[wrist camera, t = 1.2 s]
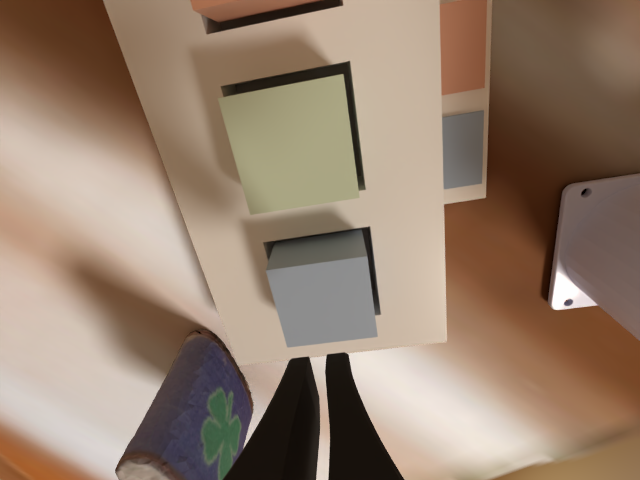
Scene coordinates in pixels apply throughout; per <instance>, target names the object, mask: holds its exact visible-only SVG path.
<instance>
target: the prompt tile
mask: <svg viewBox="0 0 640 480" xmlns="http://www.w3.org/2000/svg"><path fill="white" fill-rule="evenodd" d="M439 2H440V49H441V95H442V141H443V187H444V204H449V203H455V202H462V201H468V200H475V199H481V198H486V179H487V149H488V118H489V88H490V58H491V27H492V0H439Z"/></svg>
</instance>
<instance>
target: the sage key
mask: <svg viewBox="0 0 640 480" xmlns="http://www.w3.org/2000/svg"><path fill="white" fill-rule="evenodd" d="M218 101H219V105H220V108H221V112H222V116H223V119H224V123H225V126H226V130H227V133H228V137H229V141H230V144H231V148H232V151H233V155H234V159H235V162H236V166H237V169H238V173H239V176H240V180H241V184H242V187H243V191H244V194H245V198H246V202H247V205H248V209H249V212H250V215H254V214H260V213H267V212H273V211H280V210H286V209H292V208H299V207H305V206H311V205H318V204H324V203H330V202H337V201H343V200H349V199H356V198H360V197H359V189H358V181H357V174H356V166H355V158H354V151H353V143H352V136H351V128H350V120H349V113H348V105H347V97H346V90H345V82H344V74H339V75H334V76H329V77H324V78H319V79H313V80H308V81H303V82H298V83H293V84H288V85H282V86H277V87H272V88H267V89H262V90H256V91H251V92H246V93H241V94H236V95H231V96H226V97H221V98H218Z"/></svg>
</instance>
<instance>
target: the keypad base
mask: <svg viewBox="0 0 640 480" xmlns="http://www.w3.org/2000/svg"><path fill="white" fill-rule="evenodd" d="M103 2H104V5H105V7H106V10H107V13H108V15H109V18H110V21H111V24H112V26H113V29H114V32H115V34H116V37H117V40H118V43H119V45H120V48H121V51H122V53H123V56H124V59H125V61H126V64H127V67H128V70H129V72H130V75H131V78H132V80H133V83H134V86H135V89H136V91H137V94H138V97H139V99H140V102H141V105H142V107H143V110H144V113H145V116H146V118H147V121H148V124H149V126H150V129H151V132H152V135H153V137H154V140H155V143H156V145H157V148H158V151H159V153H160V156H161V159H162V162H163V164H164V167H165V170H166V172H167V175H168V178H169V181H170V183H171V186H172V189H173V191H174V194H175V197H176V199H177V202H178V205H179V208H180V210H181V213H182V216H183V218H184V221H185V224H186V227H187V229H188V232H189V235H190V237H191V240H192V243H193V246H194V248H195V251H196V254H197V256H198V259H199V262H200V264H201V267H202V270H203V273H204V275H205V278H206V281H207V283H208V286H209V289H210V292H211V294H212V297H213V300H214V302H215V305H216V308H217V310H218V313H219V316H220V319H221V321H222V324H223V327H224V329H225V332H226V335H227V338H228V340H229V343H230V346H231V348H232V351H233V354H234V356H235V359H236V362H237V365H238V366H242V365H250V364H259V363H268V362H276V361H285V360H291V359H292V358H299V357H307V356H309V358H311V357H320V356H327V354H333V353H342V352H345V353H354V352H363V351H372V350H380V349H389V348H398V347H406V346H415V345H424V344H432V343H441V342H447V325H446V279H445V233H444V187H443V141H442V95H441V49H440V2H439V0H322V1H318V2H313V3H308V4H304V5H299V6H294V7H290V8H285V9H280V10H275V11H271V12H266V13H261V14H257V15H252V16H247V17H243V18H238V19H233V20H229V21H224V22H219V23H218V22H216V21H214V20H212V19H210V18H208V17H206V16H204V15H202V14H200V13H197V12H195V11H193V8H192V5H191V1H190V0H103ZM339 74H344V82H345V90H346V97H347V105H348V113H349V120H350V128H351V136H352V143H353V151H354V158H355V166H356V174H357V181H358V189H359V197H360V198H356V199H349V200H343V201H337V202H330V203H324V204H318V205H311V206H305V207H299V208H292V209H286V210H280V211H273V212H267V213H260V214H254V215H250V212H249V209H248V205H247V202H246V198H245V194H244V191H243V187H242V184H241V180H240V176H239V173H238V169H237V166H236V162H235V159H234V155H233V151H232V148H231V144H230V141H229V137H228V133H227V130H226V126H225V123H224V119H223V116H222V112H221V108H220V105H219V101H218V98H221V97H226V96H231V95H236V94H241V93H246V92H251V91H256V90H262V89H267V88H272V87H277V86H282V85H288V84H293V83H298V82H303V81H308V80H313V79H319V78H324V77H329V76H334V75H339ZM360 229H362V234H363V238H364V243H365V248H366V252H367V258H368V265H369V273H370V281H371V288H372V296H373V304H374V311H375V319H376V327H377V334H378V337H373V338H365V339H356V340H348V341H339V342H331V343H323V344H314V345H306V346H297V347H289V348H287V345H286V341H285V338H284V334H283V331H282V327H281V323H280V320H279V316H278V313H277V309H276V305H275V302H274V298H273V295H272V291H271V288H270V284H269V280H268V277H267V273H266V268H267V265H268V262H269V259H270V256H271V253H272V249H273V246H274V243H275V242H279V241H286V240H293V239H300V238H306V237H313V236H320V235H326V234H333V233H340V232H347V231H353V230H360Z"/></svg>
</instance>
